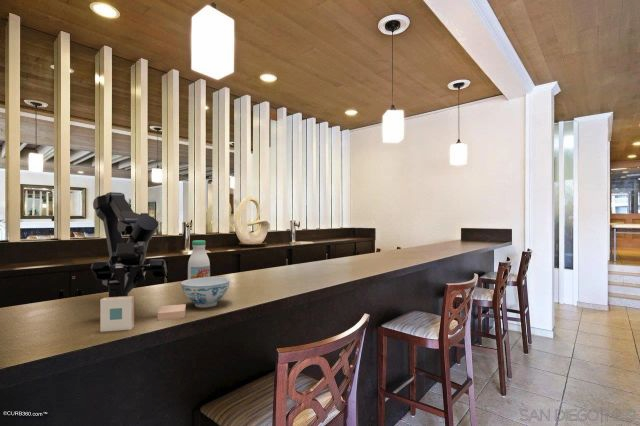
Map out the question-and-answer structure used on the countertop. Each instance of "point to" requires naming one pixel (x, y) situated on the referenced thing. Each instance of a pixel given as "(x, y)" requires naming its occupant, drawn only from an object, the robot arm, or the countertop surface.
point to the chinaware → (205, 290)
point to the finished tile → (172, 312)
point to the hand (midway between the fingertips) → (123, 295)
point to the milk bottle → (198, 261)
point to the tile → (116, 313)
